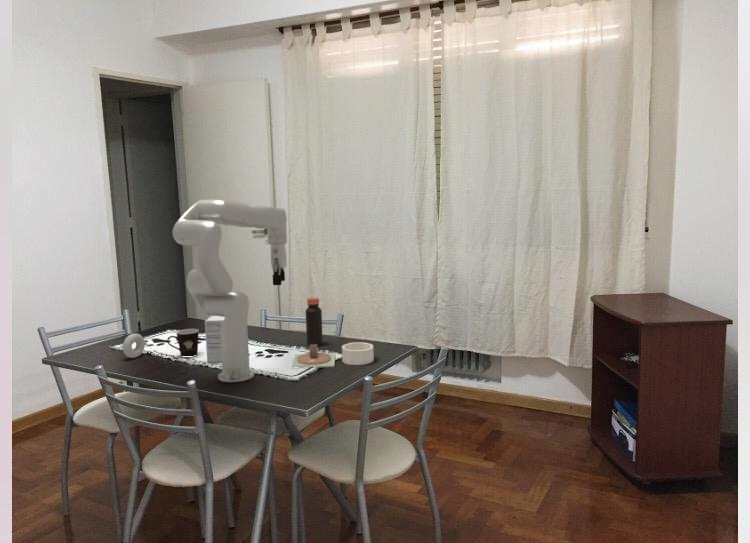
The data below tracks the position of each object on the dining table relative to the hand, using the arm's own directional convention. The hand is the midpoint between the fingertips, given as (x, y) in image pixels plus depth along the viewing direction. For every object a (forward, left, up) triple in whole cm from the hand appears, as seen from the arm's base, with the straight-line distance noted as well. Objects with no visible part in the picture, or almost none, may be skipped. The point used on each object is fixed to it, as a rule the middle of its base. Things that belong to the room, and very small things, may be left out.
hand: (279, 282), depth 232 cm
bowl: (-12, -30, -29) cm, 44 cm away
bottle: (+13, -12, -30) cm, 35 cm away
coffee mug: (+3, +40, -30) cm, 50 cm away
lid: (-11, -13, -29) cm, 34 cm away
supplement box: (-4, +24, -30) cm, 38 cm away
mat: (-11, -13, -29) cm, 34 cm away
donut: (+2, +60, -30) cm, 67 cm away
